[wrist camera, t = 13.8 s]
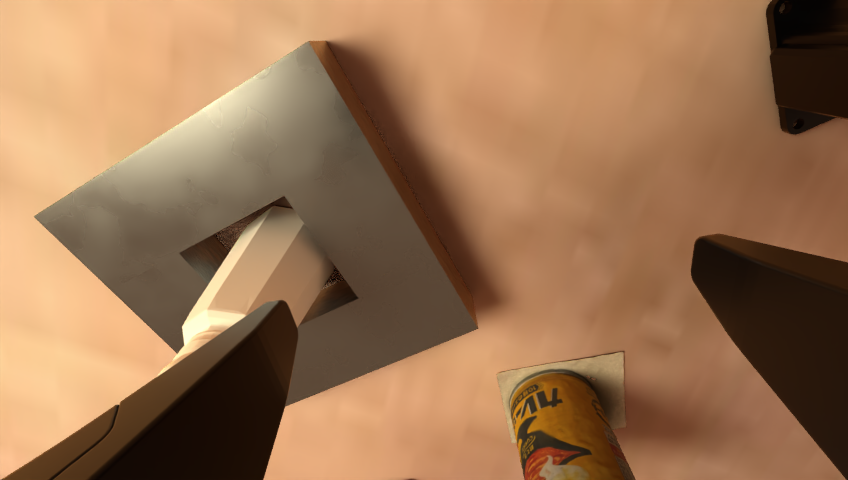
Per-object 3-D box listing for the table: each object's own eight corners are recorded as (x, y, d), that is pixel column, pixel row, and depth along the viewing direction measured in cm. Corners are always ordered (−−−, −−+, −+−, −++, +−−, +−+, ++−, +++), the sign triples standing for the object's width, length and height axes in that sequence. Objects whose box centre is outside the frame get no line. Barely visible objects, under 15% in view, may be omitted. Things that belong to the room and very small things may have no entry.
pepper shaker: (228, 214, 22) (73, 353, 12) (321, 194, 22) (233, 323, 12) (267, 293, 25) (161, 462, 15) (351, 277, 24) (299, 441, 14)
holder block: (325, 40, 18) (308, 41, 16) (472, 297, 25) (478, 328, 22) (81, 194, 22) (33, 216, 19) (265, 384, 28) (248, 421, 25)
